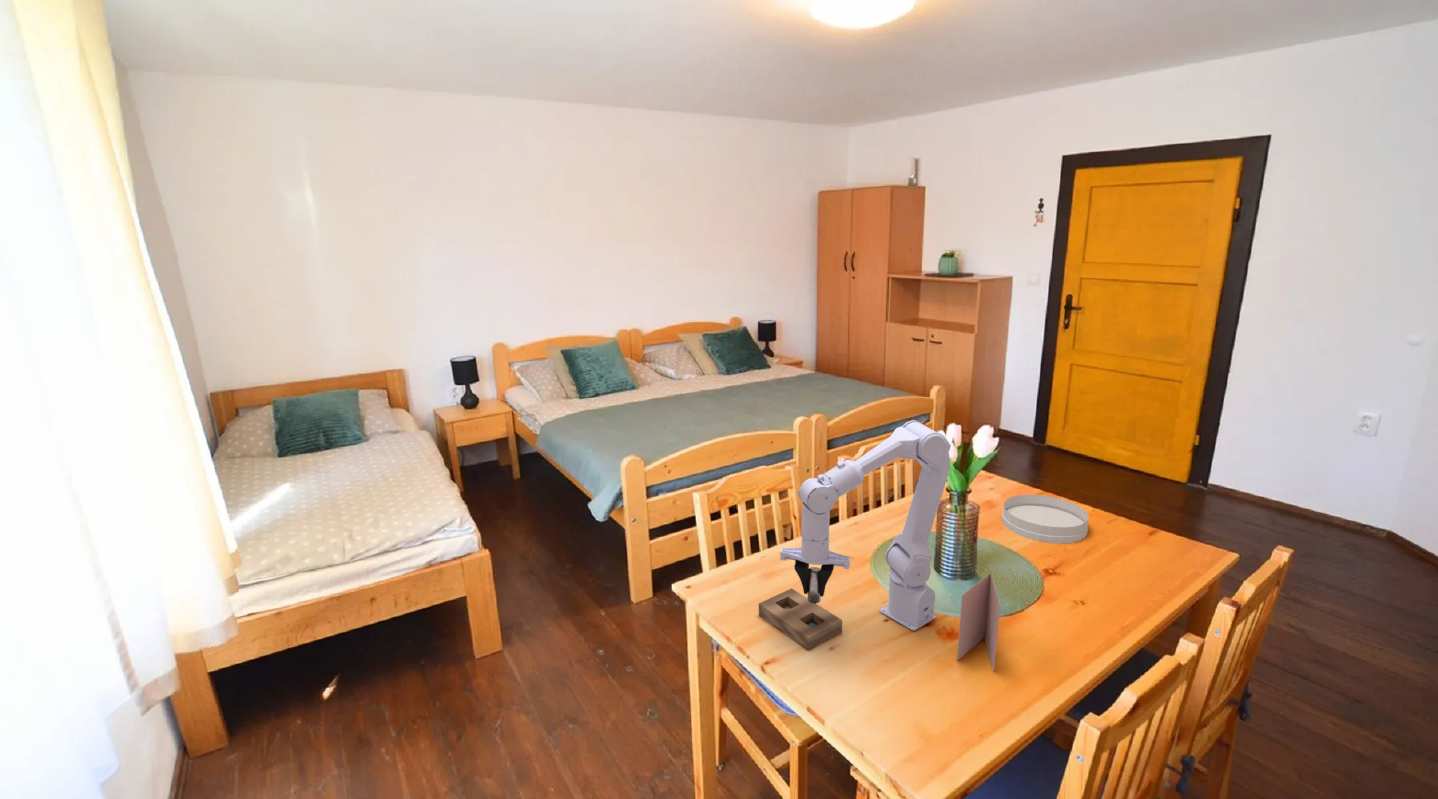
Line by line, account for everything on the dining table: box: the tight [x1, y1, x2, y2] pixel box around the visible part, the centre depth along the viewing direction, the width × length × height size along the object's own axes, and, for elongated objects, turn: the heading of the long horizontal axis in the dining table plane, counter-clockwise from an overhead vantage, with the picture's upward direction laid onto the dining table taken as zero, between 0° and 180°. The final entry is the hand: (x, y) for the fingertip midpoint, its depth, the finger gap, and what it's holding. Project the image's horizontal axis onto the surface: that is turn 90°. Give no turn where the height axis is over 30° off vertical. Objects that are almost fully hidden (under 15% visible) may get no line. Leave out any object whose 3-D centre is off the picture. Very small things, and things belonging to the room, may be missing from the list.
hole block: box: [758, 588, 843, 651], centre depth 141 cm, size 16×10×3 cm, turn 36°
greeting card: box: [956, 573, 1001, 673], centre depth 128 cm, size 11×7×15 cm, turn 131°
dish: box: [1001, 494, 1089, 544], centre depth 183 cm, size 22×22×5 cm
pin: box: [807, 566, 822, 604], centre depth 137 cm, size 3×3×7 cm
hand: (814, 592), depth 138 cm, fingers closed on pin, 3 cm apart
